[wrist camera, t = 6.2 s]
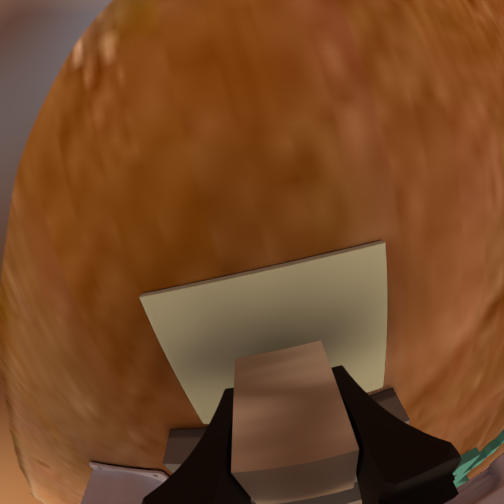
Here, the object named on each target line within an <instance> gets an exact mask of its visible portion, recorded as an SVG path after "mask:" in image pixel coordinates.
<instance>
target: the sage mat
mask: <svg viewBox="0 0 504 504" xmlns="http://www.w3.org/2000/svg"><path fill="white" fill-rule="evenodd" d="M139 298H140V300H141V302H142V305H143V307H144V309H145V312H146V314H147V316H148V319H149V321H150V323H151V325H152V328H153V330H154V332H155V334H156V336H157V338H158V340H159V343H160V345H161V347H162V349H163V351H164V353H165V355H166V357H167V359H168V361H169V363H170V365H171V367H172V369H173V371H174V373H175V375H176V376H177V378H178V380H179V382H180V384H181V386H182V388H183V389H184V391H185V393H186V395H187V397H188V398H189V400H190V402H191V404H192V405H193V407H194V409H195V410H196V412H197V414H198V416H199V417H200V419H201V421H202V422H203V424H209V423H210V421H211V419H212V417H213V415H214V413H215V411H216V409H217V407H218V404H219V402H220V400H221V397H222V395H223V392H224V390H225V389H227V388H234V372H235V358H240V357H246V356H251V355H257V354H262V353H267V352H272V351H277V350H282V349H286V348H291V347H295V346H300V345H304V344H308V343H312V342H317V341H321V342H322V344H323V347H324V350H325V353H326V355H327V358H328V361H329V363H330V366H331V368H332V367H336V366H339V365H342V366H344V368H345V369H346V371H347V372H348V373H349V374H350V376H351V377H352V378H353V379H354V380H355V381H356V382H357V384H358V385H359V386H360V387H361V388H362V389H363V390H364V391H365V392H366V393H367V392H370V391H373V390H376V389H379V388H382V387H383V381H384V370H385V357H386V339H387V263H386V245H385V242H384V241H382V240H381V241H376V242H372V243H368V244H364V245H360V246H356V247H352V248H347V249H343V250H339V251H335V252H331V253H326V254H322V255H318V256H313V257H309V258H305V259H300V260H296V261H292V262H287V263H283V264H278V265H274V266H270V267H265V268H261V269H256V270H252V271H247V272H242V273H238V274H233V275H229V276H224V277H219V278H215V279H210V280H205V281H201V282H196V283H191V284H186V285H182V286H177V287H172V288H167V289H162V290H157V291H153V292H148V293H143V294H141V296H140V297H139Z"/></svg>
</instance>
